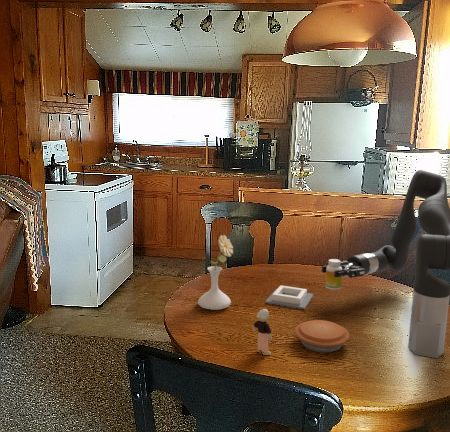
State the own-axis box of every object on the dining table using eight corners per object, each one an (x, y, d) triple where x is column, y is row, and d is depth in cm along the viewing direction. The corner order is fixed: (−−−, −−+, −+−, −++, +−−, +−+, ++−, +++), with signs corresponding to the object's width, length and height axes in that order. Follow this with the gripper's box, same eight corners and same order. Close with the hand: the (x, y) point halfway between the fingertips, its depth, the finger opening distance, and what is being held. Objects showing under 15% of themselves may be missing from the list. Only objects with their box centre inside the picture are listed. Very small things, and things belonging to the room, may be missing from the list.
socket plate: (304, 309, 158) (304, 301, 157) (265, 303, 163) (265, 295, 163) (313, 295, 171) (313, 288, 170) (276, 290, 176) (276, 282, 175)
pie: (291, 331, 142) (292, 315, 141) (342, 332, 142) (343, 317, 141) (297, 356, 127) (298, 339, 126) (354, 357, 127) (355, 340, 126)
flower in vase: (212, 316, 152) (212, 242, 147) (191, 305, 161) (190, 235, 156) (241, 306, 161) (242, 236, 156) (219, 296, 169) (220, 230, 164)
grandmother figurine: (277, 354, 128) (279, 311, 125) (269, 359, 125) (270, 315, 122) (256, 345, 133) (257, 303, 130) (247, 349, 130) (248, 307, 127)
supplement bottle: (338, 291, 157) (339, 263, 155) (323, 288, 160) (324, 261, 158) (343, 286, 161) (344, 259, 160) (328, 283, 164) (329, 257, 162)
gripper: (348, 250, 172) (314, 256, 163) (379, 259, 160) (345, 266, 151) (347, 269, 174) (313, 276, 165) (378, 279, 162) (343, 288, 153)
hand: (328, 271), depth 158 cm, fingers closed on supplement bottle, 5 cm apart
